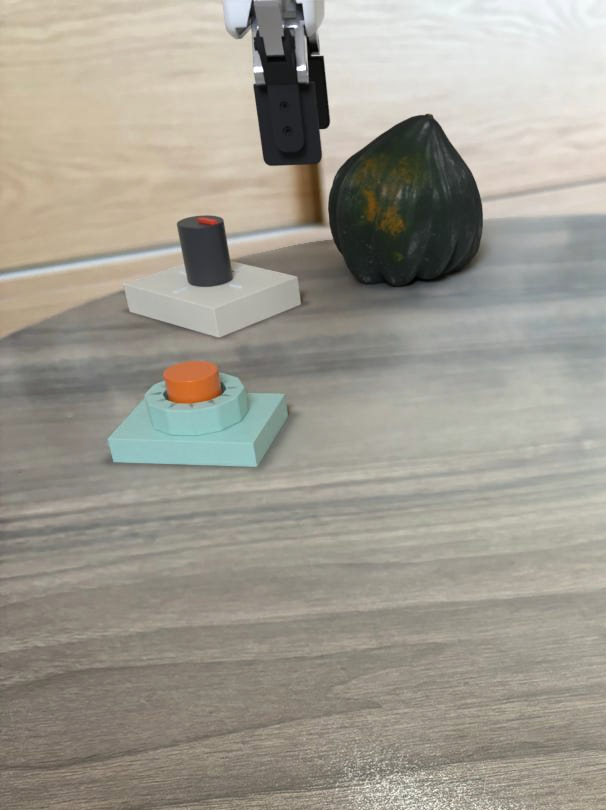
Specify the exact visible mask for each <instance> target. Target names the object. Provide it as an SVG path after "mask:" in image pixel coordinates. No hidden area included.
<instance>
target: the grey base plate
mask: <svg viewBox="0 0 606 810" xmlns="http://www.w3.org/2000/svg"><path fill="white" fill-rule="evenodd" d="M230 262H231V268H232V274H233V278H232V280H230V281H229V282H227V283H224V284H220V285H215V286H195V285H191V284H189V283H188V281H187V276H186V270H185V265H184V263H182V264H178V265H175V266H172V267H170V268H166V269H164V270H160V271H157V272H154V273H151V274H148V275H144V276H142V277H139V278H137V279H134V280H130V281H128V282H125V283H123V289H124V294H125V298H126V303H127V306H128V311H129V313H133V314H136V315H140V316H143V317H146V318H150V319H154V320H157V321H160V322H164V323H166V324H167V323H168V324H170V325H174V326H178V327H181V328H185V329H188V330H191V331H194V332H198V333H202V334H204V335H209V336H212V337H215V338H221V337H224V336H226V335H230V334H231V333H234V332H236V331H238V330H239V331H240V330H241V329H244V328H246V327H249V326H251V325H254V324H256V323H258V322H261V321H263V320H266V319H268V318H271V317H273V316H276V315H278V314H281V313H284V312H286V311H289V310H291V309H293V308H297V307H298V306H300V305H302V301H301V293H300V284H299V277H298V276H296V275H293V274H288V273H285V272H280V271H275V270H271V269H267V268H264V267H263V268H262V267H258V266H254V265H250V264H245V263H241V262H237V261H232V260H230Z"/></svg>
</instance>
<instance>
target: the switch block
mask: <svg viewBox="0 0 606 810" xmlns="http://www.w3.org/2000/svg"><path fill="white" fill-rule="evenodd" d="M219 377H220V382H221V388H222V394H221V396H218V397H216V398H214V399H212V400H209V401H204V402H199V403H193V404H182V403H174V402H171V401H170V400H169V399H168V394H167V390H166V385H165V381H164V380H162V381H160V382H157V383H154V384H153V385H152V386H150V388H149V389H148V390H147V391H146V392H145V393H144V396H143V397H144V398H143V399H142V400H141V401H140V402H139V403H138V404H137V406H136V407H135V408H134V409H133V410H132V411H131V412H130V413H129V414H128V415H127V417H125V419H124V420H123V421H122V422H121V423H120V424H119V425H118V427H117V428H116V429H115V430H114V431H113V432H112V433H111V434H110V435H109V436H108V438H107V442H108V446H109V450H110V454H111V457H112V461H113V463H128V464H129V463H131V464H157V465H159V464H161V465H189V466H190V465H191V466H192V465H193V466H224V467H253V468H254V467H255V468H256V467H258V466H259V464H260V463H261V462H262V459H263V458H264V456H266V455H265V454H266V453H267V452H268V450H269V449H270V447H271V445H272V444H273V442H274V440H275V438H276V436H277V435H278V434H279V432H280V430H281V429H282V427H283V425H284V424H285V422H286V420H287V419H288V417H289V412H288V406H287V405H288V404H287V399H286V393H272V392H271V393H270V392H246V389H245V386H244V384H243V382H242V381H241V379H240V378H239V377H238V376H237V377H236V376H234V375H231V374H227V373H224V372H219Z"/></svg>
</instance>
